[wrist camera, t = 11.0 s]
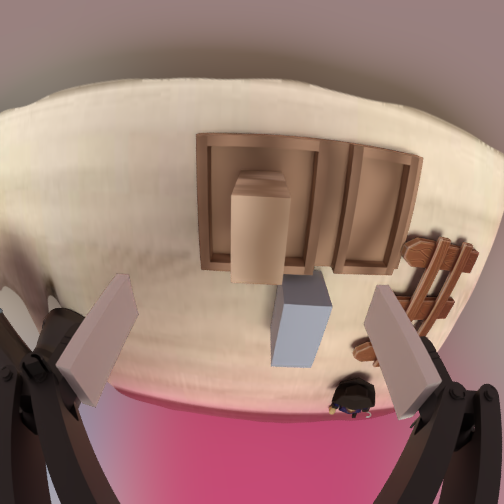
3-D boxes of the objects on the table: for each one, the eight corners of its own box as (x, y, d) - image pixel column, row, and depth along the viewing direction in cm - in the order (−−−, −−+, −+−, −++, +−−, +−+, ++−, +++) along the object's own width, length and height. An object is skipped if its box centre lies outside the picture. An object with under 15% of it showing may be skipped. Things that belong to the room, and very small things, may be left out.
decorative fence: (477, 242, 30) (409, 226, 28) (484, 248, 28) (417, 233, 26) (415, 355, 41) (346, 361, 39) (419, 361, 39) (349, 369, 37)
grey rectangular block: (270, 327, 37) (271, 366, 31) (280, 266, 33) (284, 303, 27) (305, 329, 37) (310, 367, 31) (321, 270, 33) (332, 306, 27)
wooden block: (239, 234, 29) (230, 282, 21) (241, 169, 26) (231, 195, 18) (277, 236, 29) (281, 285, 21) (282, 171, 26) (290, 198, 18)
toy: (326, 418, 48) (328, 404, 38) (333, 392, 52) (335, 369, 42) (368, 423, 45) (382, 409, 35) (373, 396, 49) (387, 374, 39)
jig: (202, 255, 32) (196, 269, 29) (199, 133, 26) (191, 135, 23) (393, 264, 32) (403, 277, 29) (418, 155, 25) (432, 161, 22)
